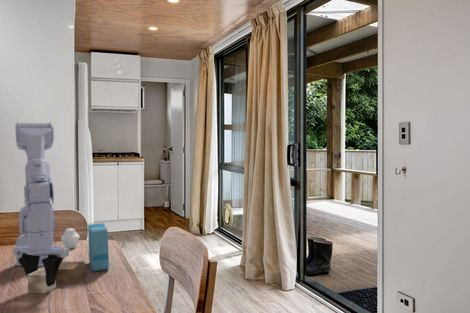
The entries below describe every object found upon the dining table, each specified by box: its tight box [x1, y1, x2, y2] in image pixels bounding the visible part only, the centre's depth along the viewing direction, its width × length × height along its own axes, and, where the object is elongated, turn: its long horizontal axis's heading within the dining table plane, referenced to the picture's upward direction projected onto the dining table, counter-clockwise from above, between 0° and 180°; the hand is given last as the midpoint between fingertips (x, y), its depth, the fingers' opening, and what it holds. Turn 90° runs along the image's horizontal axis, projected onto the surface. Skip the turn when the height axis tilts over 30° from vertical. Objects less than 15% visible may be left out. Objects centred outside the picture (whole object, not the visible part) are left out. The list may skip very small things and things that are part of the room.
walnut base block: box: [56, 261, 86, 284], centre depth 111 cm, size 8×7×4 cm
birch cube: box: [27, 268, 57, 295], centre depth 102 cm, size 4×4×4 cm
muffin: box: [60, 227, 81, 250], centre depth 145 cm, size 6×6×7 cm
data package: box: [87, 222, 110, 272], centre depth 122 cm, size 12×4×12 cm, turn 24°
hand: (42, 284), depth 102 cm, fingers closed on birch cube, 4 cm apart
